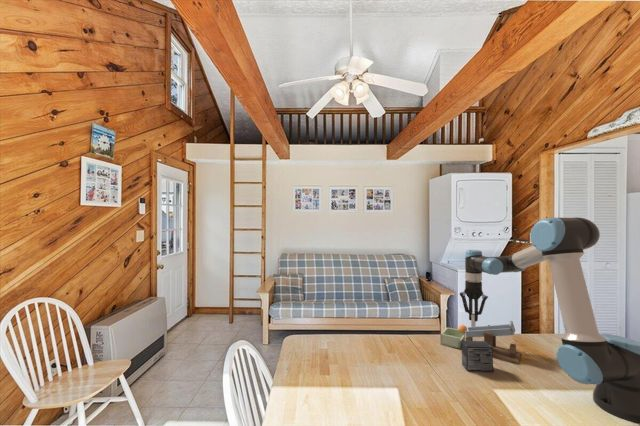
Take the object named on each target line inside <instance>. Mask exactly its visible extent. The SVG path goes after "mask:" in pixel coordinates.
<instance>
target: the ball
mask: <svg viewBox="0 0 640 426" xmlns="http://www.w3.org/2000/svg"><path fill="white" fill-rule="evenodd" d="M457 330H459V332H460V333H463V334H464V333H465V331H468V327H467V326H466V325H464V324H460V325H459V326H458V328H457Z"/></svg>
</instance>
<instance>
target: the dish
mask: <svg viewBox="0 0 640 426" xmlns="http://www.w3.org/2000/svg"><path fill="white" fill-rule="evenodd" d="M462 341H466V334H465V333H464V334H463V333H460V332H459V330H458V328H452V327H447V326H446V327H445V328H444V329H443V331H442V332H441V333H440V346H441V345H442V346H445V347H449V348H454V349H458V350H461V347H462Z"/></svg>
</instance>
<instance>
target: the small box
mask: <svg viewBox="0 0 640 426" xmlns="http://www.w3.org/2000/svg"><path fill="white" fill-rule="evenodd" d="M493 359H494V358H493V347H492V346H491V345H490V344H489V343H488V342H487V341H484V340H473V341H466V340H465V341H462V350H461V365H462V366H463V369H465V371H466V372H473V373H474V372H476V373H478V372H479V373H480V372H481V373H494V360H493Z"/></svg>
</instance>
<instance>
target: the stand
mask: <svg viewBox="0 0 640 426" xmlns="http://www.w3.org/2000/svg"><path fill="white" fill-rule="evenodd" d="M487 326H492V325H490V324H487ZM473 338H474V337H468V338H467V337H466V336H465V341H474V339H473ZM483 341H487V342H488V343H489V344H490V345H491V346H492V347H493V359H498V360H502V361H506V362H510V363H514V364H519V363H520V358H521V352H519V351H517V344H516V343H510V344H509V349H507V348H503V347H498V346H497V336H493V333H490V332H484V338H483ZM460 350H461V351H462V347H461V349H460Z"/></svg>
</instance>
